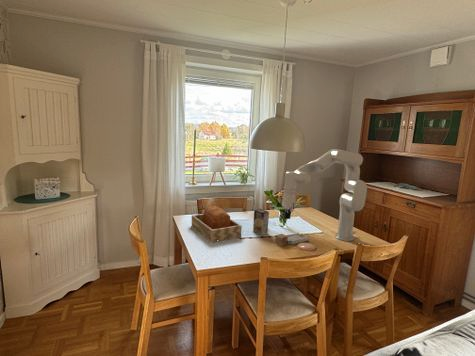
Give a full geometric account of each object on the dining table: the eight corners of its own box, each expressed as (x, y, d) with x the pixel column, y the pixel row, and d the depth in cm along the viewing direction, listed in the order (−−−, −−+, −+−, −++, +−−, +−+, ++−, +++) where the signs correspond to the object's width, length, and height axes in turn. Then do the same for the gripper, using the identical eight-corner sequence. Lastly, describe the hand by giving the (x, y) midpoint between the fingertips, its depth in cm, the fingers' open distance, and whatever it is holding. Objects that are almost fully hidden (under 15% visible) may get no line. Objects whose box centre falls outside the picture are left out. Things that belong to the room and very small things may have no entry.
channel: (298, 236, 197) (298, 232, 197) (307, 240, 189) (307, 237, 189) (282, 239, 190) (282, 236, 189) (291, 244, 182) (291, 240, 182)
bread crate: (218, 221, 221) (218, 211, 220) (241, 236, 192) (241, 225, 191) (191, 225, 210) (191, 215, 208) (211, 242, 181) (211, 230, 179)
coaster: (306, 242, 186) (306, 241, 186) (319, 248, 177) (319, 247, 177) (294, 245, 181) (294, 244, 181) (306, 252, 172) (306, 251, 171)
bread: (213, 237, 190) (214, 214, 187) (201, 224, 213) (202, 204, 211) (232, 234, 196) (233, 212, 193) (218, 222, 219) (219, 203, 216)
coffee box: (252, 231, 202) (253, 210, 200) (258, 229, 207) (259, 208, 204) (262, 235, 196) (263, 213, 193) (268, 233, 201) (269, 211, 198)
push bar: (296, 239, 193) (296, 234, 192) (301, 241, 188) (301, 237, 188) (282, 242, 186) (283, 238, 186) (288, 245, 182) (288, 240, 181)
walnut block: (281, 241, 187) (282, 233, 186) (287, 244, 182) (287, 236, 181) (275, 243, 184) (275, 235, 183) (280, 246, 179) (281, 237, 178)
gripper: (279, 188, 186) (277, 215, 189) (290, 193, 172) (287, 222, 175) (289, 188, 188) (287, 214, 191) (301, 193, 174) (298, 221, 177)
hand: (287, 218), depth 183 cm, fingers closed
